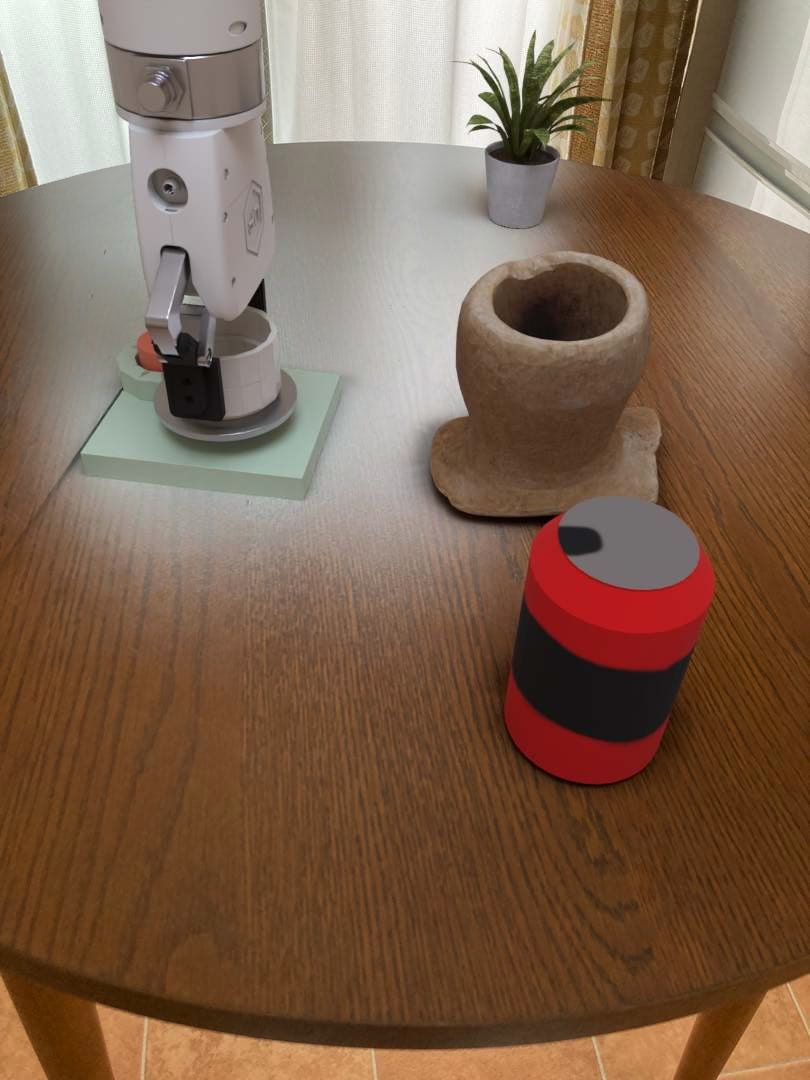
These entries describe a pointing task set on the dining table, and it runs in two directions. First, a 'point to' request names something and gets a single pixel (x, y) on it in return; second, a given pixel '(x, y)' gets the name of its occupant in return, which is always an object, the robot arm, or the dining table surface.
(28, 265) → the dining table surface
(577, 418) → the stone cup
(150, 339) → the tare button
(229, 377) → the bowl
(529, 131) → the house plant
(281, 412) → the plate
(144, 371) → the scale
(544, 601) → the soda can
